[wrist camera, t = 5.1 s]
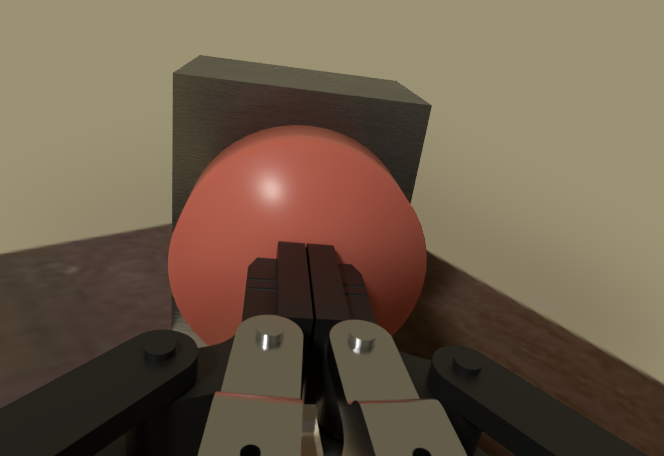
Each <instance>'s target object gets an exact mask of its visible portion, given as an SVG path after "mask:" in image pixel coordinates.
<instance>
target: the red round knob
mask: <svg viewBox="0 0 664 456" xmlns="http://www.w3.org/2000/svg"><path fill="white" fill-rule="evenodd" d="M278 241H285V242H297V243H305V246H306V244H307V243H311V244H324V245H333V246H334V249H335V253H336V258H337V262H338V263H341V264H352V265H353V266H354V267H355V268H356V269H357V270H358V271H359V272H360V273H361V274H362V276H363V280H364V283H365V288H366V290H367V293H368V297H369V299H370V303H371V306H372V309H373V313H374V316H375V319H376V322H377V325H378V326H380V327H382V328H383V329H385V330H386V331H387V332H388V333H389V334H390V335H391V337H392V336H393V335H394V334H395V333H396V332H397V331H398V330H399V329H400V327H401V326H402V325H403V324H404V323H405V321H406V320H407V318H408V317H409V315H410V314H411V312H412V311H413V309H414V307H415V305H416V303H417V301H418V298H419V296H420V293H421V290H422V287H423V284H424V279H425V274H426V263H427V252H426V244H425V238H424V234H423V231H422V227H421V224H420V222H419V220H418V217H417V215H416V213H415V211H414V209H413V208H412V206H411V205H410V203H409V201H408V200H407V198H406V197H405V195H404V194H403V192H402V191H401V189H400V187H399V186H398V184H397V183H396V181H395V180H394V178H393V176H392V175H391V173H390V172H389V170H388V169H387V167H386V166H385V165H384V164H383V163H382V162H381V160H380V159H379V158H378V157H377V156H376V155H374V154H373V153H372V152H371V151H370V150H369V149H368V148H366V147H365V146H363V145H362V144H360V143H359V142H357V141H356V140H354V139H352V138H350V137H348V136H345V135H343V134H341V133H338V132H335V131H332V130H329V129H326V128H320V127H315V126H305V125H289V126H278V127H273V128H269V129H264V130H261V131H258V132H256V133H253V134H250V135H248V136H246V137H244V138H242V139H240V140H238V141H236V142H234V143H233V144H231V145H230V146H229V147H227V148H226V149H224V150H223V151H222V152H221V153H219V154H218V155H217V156H216V157H215V158H214V159H213V160H212V161H211V162H210V163H209V165H208V166H207V167H206V168H205V169H204V171H203V172H202V173H201V175H200V177H199V178H198V180H197V182H196V184H195V185H194V187H193V190H192V192H191V194H190V196H189V198H188V200H187V202H186V204H185V207H184V209H183V211H182V213H181V215H180V217H179V219H178V222H177V224H176V227H175V229H174V232H173V235H172V239H171V243H170V247H169V257H168V272H169V281H170V286H171V290H172V294H173V297H174V299H175V302H176V304H177V307H178V309H179V311H180V312H181V314H182V316H183V318H184V319H185V321H186V322H187V323H188V325H189V326H190V327H191V329H192V330H193V331H194V332H195V333H196V334H197V335H198V336H199V337H200V338H201V339H202V340H203V341H204V342H205V343H206V344H207V345H209V346H212V345H216V344H219V343H222V342H224V341H226V340H228V339H230V338H232V337H233V336H234V335H235V334H236V330H237V328H238V326H239V325H240V324H241V323H242V314H243V306H244V297H245V289H246V280H247V271H248V266H249V265H250V264H251V263H252V262H253V261H254V260H255V259H256V258H257V257H259V258H273V259H276V255H277V246H278Z"/></svg>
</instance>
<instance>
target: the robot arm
mask: <svg viewBox="0 0 664 456" xmlns="http://www.w3.org/2000/svg"><path fill="white" fill-rule="evenodd" d="M302 393H303V399H304V404H309V405H316V412H317V415H316V421H315V427H314V439H315V445H316V450H317V456H489V455H488V454H487V453H485V452H484V451H483V450H481V449H480V448H479V447H477V445H478V442H479V439H480V437H481V434H482V431H483V432H485V433H486V434H488V435H489V436H490V437H492V438H493V439H494V440H496V441H497V442H499V443H500V444H501V445H503V446H504V447H505V448H507V449H508V450H510V451H511V452H512V453H514V454H515V455H516V456H647V455H645V454H644V453H642V452H641V451H639V450H637V449H636V448H634V447H632V446H631V445H629V444H628V443H626V442H624V441H623V440H621V439H619V438H618V437H616V436H615V435H613V434H611V433H610V432H608V431H606V430H605V429H603V428H602V427H600V426H598V425H597V424H595V423H593V422H592V421H590V420H589V419H587V418H585V417H584V416H582V415H581V414H579V413H577V412H576V411H574V410H572V409H571V408H569V407H568V406H566V405H564V404H563V403H561V402H559V401H558V400H556V399H555V398H553V397H551V396H550V395H548V394H546V393H545V392H543V391H542V390H540V389H538V388H537V387H535V386H534V385H532V384H530V383H529V382H527V381H525V380H524V379H522V378H521V377H519V376H517V375H516V374H514V373H512V372H511V371H509V370H508V369H506V368H504V367H503V366H501V365H499V364H498V363H496V362H495V361H493V360H491V359H490V358H488V357H487V356H485V355H483V354H481V353H480V352H478V351H475V350H473V349H470V348H467V347H463V346H456V345H450V346H444V347H441V348H439V349H438V350H436V351H435V353H434V354H433V357H432V361H431V360H428V359H424V358H420V357H416V356H413V355H409V354H406V353H404V352H402V351H399V350H398V349H397V347H396V345H395V343H394V341H393V339H392V337H391V335H390V334H389V333H388V332H387V331H386V330H385V329H383V328H382V327H380V326H378V325H377V322H376V319H375V316H374V313H373V309H372V306H371V303H370V299H369V297H368V293H367V290H366V288H365V283H364V280H363V276H362V274H361V273H360V272H359V271H358V270H357V269H356V268H355V267H354V266H353V265H352V264H341V263H338V262H337V258H336V253H335V249H334V246H333V245H324V244H311V243H307V244H306V246H305V243H297V242H285V241H278V246H277V255H276V259H273V258H259V257H257V258H256V259H255V260H254V261H253V262H252V263H251V264H250V265H249V266H248V271H247V280H246V289H245V297H244V306H243V314H242V323H241V324H240V325H239V326H238V328H237V330H236V334H235V335H234V336H233V337H232V338H230V339H228V340H226V341H224V342H222V343H219V344H216V345H212V346H206V347H200V348H198V347H197V344H196V342H195V341H194V340H193V339H192V338H191V337H190V336H188V335H186V334H184V333H182V332H179V331H174V330H154V331H149V332H146V333H143V334H140V335H138V336H136V337H134V338H132V339H130V340H128V341H126V342H124V343H122V344H121V345H119V346H117V347H115V348H113V349H111V350H109V351H107V352H106V353H104V354H102V355H100V356H98V357H96V358H94V359H92V360H91V361H89V362H87V363H85V364H83V365H81V366H79V367H77V368H76V369H74V370H72V371H70V372H68V373H66V374H64V375H63V376H61V377H59V378H57V379H55V380H53V381H51V382H49V383H48V384H46V385H44V386H42V387H40V388H38V389H36V390H34V391H33V392H31V393H29V394H27V395H25V396H23V397H21V398H19V399H18V400H16V401H14V402H12V403H10V404H8V405H6V406H4V407H3V408H1V409H0V456H301V435H302V411H303V399H302Z"/></svg>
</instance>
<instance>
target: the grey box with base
mask: <svg viewBox="0 0 664 456" xmlns="http://www.w3.org/2000/svg"><path fill="white" fill-rule="evenodd" d="M431 107H432V106H431V105H430V104H429V103H427V102H426V101H424V100H423V99H422V98H420V97H418V96H417V95H416V94H414V93H413V92H411V91H410V90H408V89H407V88H406V87H404V86H403V85H401V84H400V83H398V82H397V81H391V80H384V79H377V78H369V77H361V76H354V75H346V74H339V73H330V72H323V71H315V70H308V69H301V68H293V67H285V66H277V65H270V64H262V63H255V62H247V61H239V60H232V59H224V58H217V57H209V56H202V55H200V56H198V57H197V58H195V59H193V60H192V61H191V62H189V63H187V64H186V65H184V66H183V67H181V68H180V69H178V70H177V71H175V72H174V73H173V173H172V177H173V178H172V180H173V181H172V183H173V185H172V235H173V232H174V229H175V227H176V224H177V222H178V219H179V217H180V215H181V213H182V211H183V209H184V207H185V204H186V202H187V200H188V198H189V196H190V194H191V192H192V190H193V187H194V185H195V184H196V182H197V180H198V178H199V177H200V175H201V173H202V172H203V171H204V169H205V168H206V167H207V166H208V165H209V163H210V162H211V161H212V160H213V159H214V158H215V157H216V156H217V155H218V154H219V153H221V152H222V151H223V150H224V149H226V148H227V147H229V146H230V145H231V144H233V143H234V142H236V141H238V140H240V139H242V138H244V137H246V136H248V135H250V134H253V133H256V132H258V131H261V130H264V129H269V128H273V127H278V126H289V125H305V126H315V127H320V128H326V129H329V130H332V131H335V132H338V133H341V134H343V135H345V136H348V137H350V138H352V139H354V140H356V141H357V142H359V143H360V144H362V145H363V146H365V147H366V148H368V149H369V150H370V151H371V152H372V153H373V154H374V155H376V156H377V157H378V158H379V159H380V160H381V162H382V163H383V164H384V165H385V166H386V167H387V169H388V170H389V172H390V173H391V175H392V176H393V178H394V180H395V181H396V183H397V184H398V186H399V187H400V189H401V191H402V192H403V194H404V195H405V197H406V198H407V200H408V201H409V203H411V199H412V194H413V190H414V185H415V180H416V176H417V171H418V167H419V162H420V157H421V152H422V148H423V143H424V139H425V134H426V130H427V125H428V120H429V116H430V111H431ZM172 330H174V331H179V332H182V333H184V334H186V335H188V336H190V337H191V338H192V339H193V340H194V341H195V342H196V344H197V347H198V348H200V347H206V346H209V345H207V344H206V343H205V342H204V341H203V340H202V339H201V338H200V337H199V336H198V335H197V334H196V333H195V332H194V331H193V330H192V329H191V327H190V326H189V325H188V323H187V322H186V321H185V319H184V318H183V316H182V314H181V312H180V311H179V309H178V307H177V304H176V302H175V299H174V297H173V294H172ZM302 399H303V393H302ZM316 415H317V412H316V405H309V404H304V399H303V411H302V435H301V456H317V450H316V445H315V439H314V427H315V421H316Z"/></svg>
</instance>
